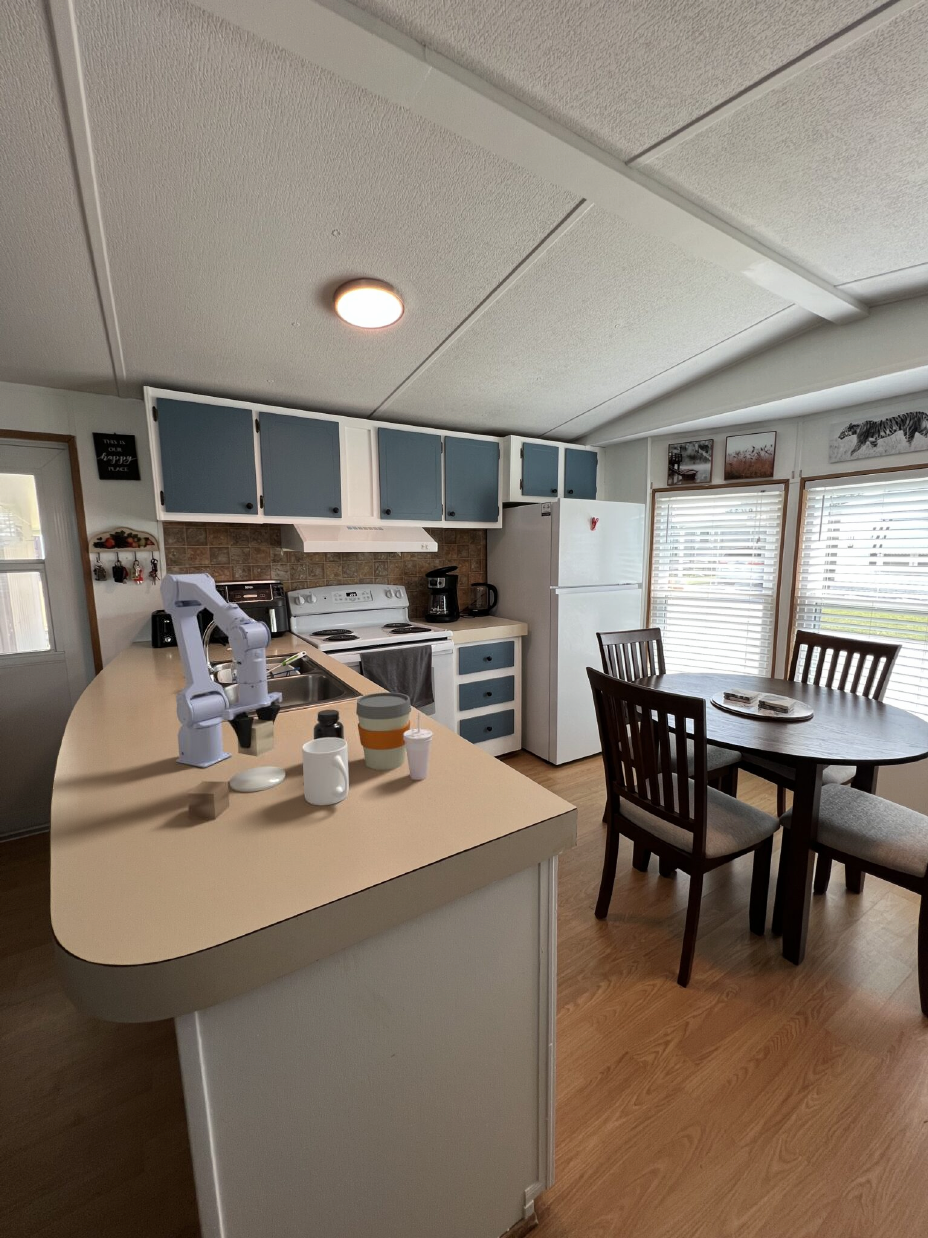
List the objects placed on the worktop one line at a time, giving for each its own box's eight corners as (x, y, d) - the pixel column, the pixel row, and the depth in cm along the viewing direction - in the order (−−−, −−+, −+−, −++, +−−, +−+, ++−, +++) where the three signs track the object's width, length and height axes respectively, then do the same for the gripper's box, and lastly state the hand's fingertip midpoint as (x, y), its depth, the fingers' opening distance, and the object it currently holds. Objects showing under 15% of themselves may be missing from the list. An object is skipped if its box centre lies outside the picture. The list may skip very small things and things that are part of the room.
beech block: (238, 753, 108) (237, 725, 107) (255, 745, 112) (254, 718, 112) (257, 756, 106) (255, 728, 105) (274, 748, 110) (273, 721, 110)
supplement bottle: (336, 769, 115) (334, 717, 114) (309, 766, 117) (306, 716, 115) (349, 757, 122) (347, 708, 121) (323, 755, 124) (321, 707, 122)
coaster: (218, 786, 107) (217, 783, 107) (258, 766, 117) (258, 763, 117) (258, 796, 103) (258, 792, 103) (296, 774, 113) (296, 771, 113)
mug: (326, 818, 94) (324, 762, 93) (296, 796, 102) (294, 744, 101) (366, 802, 100) (365, 749, 98) (335, 783, 108) (333, 734, 107)
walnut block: (189, 819, 94) (187, 793, 93) (204, 806, 99) (202, 781, 98) (215, 819, 94) (213, 793, 93) (229, 806, 99) (227, 781, 98)
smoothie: (438, 773, 113) (437, 711, 111) (424, 784, 107) (423, 720, 105) (413, 768, 116) (412, 708, 114) (398, 779, 110) (396, 716, 108)
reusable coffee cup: (401, 748, 128) (399, 689, 126) (420, 766, 117) (419, 702, 115) (351, 757, 122) (349, 696, 120) (366, 777, 111) (364, 710, 109)
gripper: (239, 690, 99) (243, 758, 101) (291, 674, 112) (294, 734, 114) (212, 687, 102) (217, 752, 103) (266, 672, 115) (270, 730, 117)
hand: (255, 742), depth 109 cm, fingers closed on beech block, 5 cm apart
